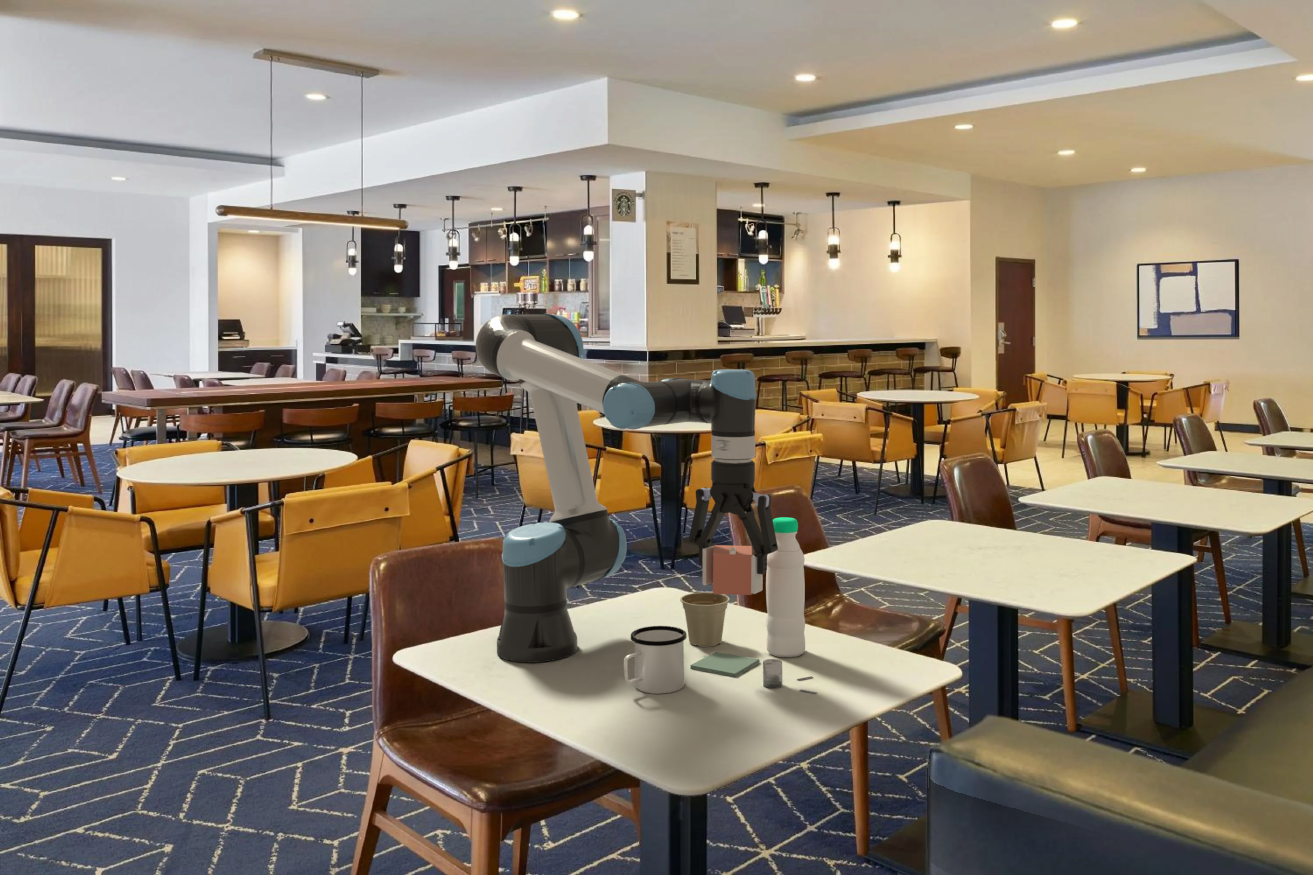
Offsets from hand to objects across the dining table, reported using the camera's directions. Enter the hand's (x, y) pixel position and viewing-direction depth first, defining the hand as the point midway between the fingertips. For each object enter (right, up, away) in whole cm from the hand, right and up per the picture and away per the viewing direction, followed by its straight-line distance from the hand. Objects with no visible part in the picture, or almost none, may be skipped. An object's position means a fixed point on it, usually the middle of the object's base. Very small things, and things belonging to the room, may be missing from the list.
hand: (732, 587), depth 179 cm
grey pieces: (+10, -15, -6) cm, 20 cm away
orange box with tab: (0, 0, 0) cm, 0 cm away
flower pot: (-4, -13, +18) cm, 22 cm away
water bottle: (+11, -14, +10) cm, 20 cm away
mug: (-14, -16, -7) cm, 22 cm away
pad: (-1, -14, +4) cm, 15 cm away
